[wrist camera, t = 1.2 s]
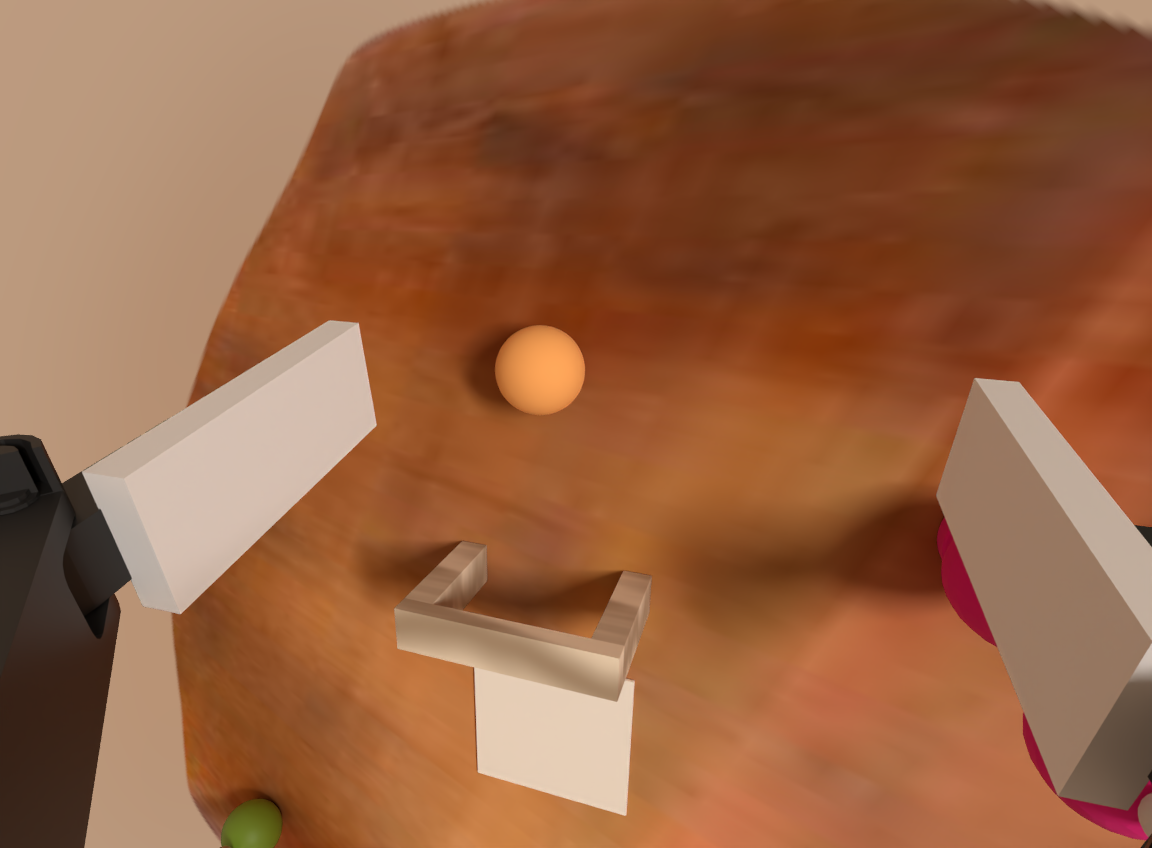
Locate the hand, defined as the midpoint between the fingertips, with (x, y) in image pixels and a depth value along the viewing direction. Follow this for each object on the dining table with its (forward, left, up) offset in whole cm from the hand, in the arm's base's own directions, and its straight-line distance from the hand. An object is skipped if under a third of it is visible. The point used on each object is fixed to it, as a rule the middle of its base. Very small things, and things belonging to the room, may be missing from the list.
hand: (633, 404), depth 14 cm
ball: (-5, +11, -23) cm, 26 cm away
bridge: (-21, +11, -26) cm, 35 cm away
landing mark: (-35, +11, -26) cm, 45 cm away
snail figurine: (-54, +41, -26) cm, 73 cm away
